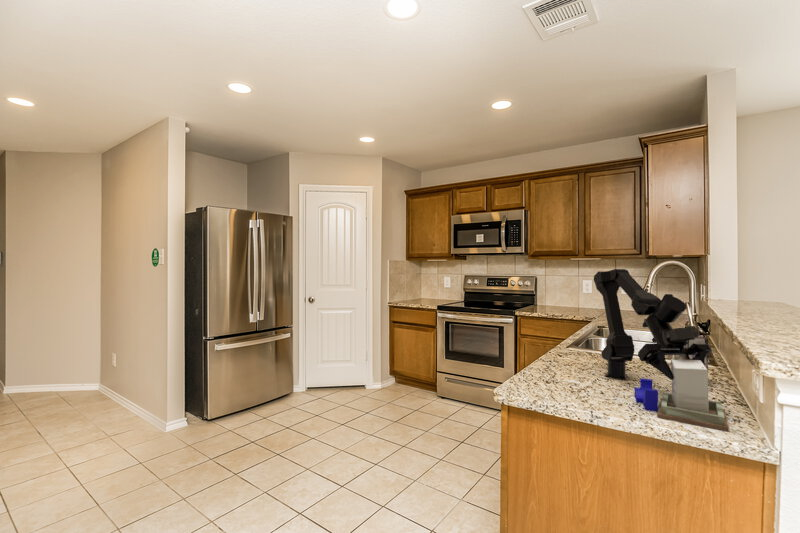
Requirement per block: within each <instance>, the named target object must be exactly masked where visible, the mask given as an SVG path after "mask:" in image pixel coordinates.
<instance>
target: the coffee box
mask: <svg viewBox="0 0 800 533" xmlns="http://www.w3.org/2000/svg"><path fill="white" fill-rule="evenodd" d="M709 340H710V338H708V337H705V336H703V335H699V336H698V337H695V339H694V340H689V341H687V344H686V345H684V346H683V347H684V348H689V347H690V346H691V345H692V344H693V343H705V344H708V345H709V344H710V342H709ZM709 346H710V345H709ZM675 359H678V360H688V359H687V358H686V356H685V355H675ZM705 367H706V369H707V370H708V371H709V354H708V355H707V356H706V357H705Z"/></svg>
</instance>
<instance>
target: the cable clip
mask: <svg viewBox="0 0 800 533" xmlns="http://www.w3.org/2000/svg"><path fill="white" fill-rule="evenodd" d="M639 379H640V380H639V381H640V382H639V387H636V386H634V399H635V401H636V403H638V404H642V405H643V408H644V410H645V411H650V412H655V411H656V412H657V413H658V408H659V404H658V403H659V391H658V389H653V380H652V379H649V378H643V377H642V378H639ZM656 412H655V413H656Z"/></svg>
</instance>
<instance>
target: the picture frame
mask: <svg viewBox="0 0 800 533" xmlns="http://www.w3.org/2000/svg"><path fill="white" fill-rule="evenodd" d="M658 403H659V404H658V412H657V414H656V418H659V419H664V420H669V421H673V422H677V423H678V422H679V423H683V424H688V425H694V426H699V427H703V428H709V429H712V430H713V429H714V430H717V431H719V430H720V431H723V432H729V430H730V427H729V423H728V417H727V414H726V410H725V408H724V407H723V405H722V404H723V403H722V402H721V401H714V400H709V414H708V413H703V412H697V411H692V410H687V409H681V408H676V407H675V405H674V402H673V400H672V393H667V392H663V395H662V398H661V397H660V399H659V402H658Z"/></svg>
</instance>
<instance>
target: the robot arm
mask: <svg viewBox="0 0 800 533" xmlns="http://www.w3.org/2000/svg"><path fill="white" fill-rule="evenodd" d="M593 282H594V285H595V288H596V290H597V291H598V292H599V293H600V295H601V296H602V300H603V305H604V311H605V315H606V321H607V322H606V323H607V327H608V335H607V337H606V341H605V343H606V346H605V347H604V348H603V350H602V351H601V358H602V359H603V360H606V361H607V372H606V374H605V375H604V376H605V377H606V378H611V379H612V378H613V379H618V380H627V378H628V374H626V371H627V370H626V366H627V365H626V364H627V362H632V360H633V358H634V353H635V344H634V340H633V337H632V335H631V334H630V335H628V334H627V333H626V331H625V327H624V323H623V318H622V317H623V316H622V312H621V311H622V310H621V306H620V302H619V296H618V293H619V289H620V288H621V289H622V291H624V293H625V294H626V295H627V296H628V298H629V299H630V300H631V304H630V305H631V307H632V309H633V310H634V313H636V315H637V316H647V317H646V318H644V320H643V323H642V325H641V326H642V327H643V328H648V329H649V331H650V333H651V335H652V337H653V338H652V339H651V341H652V343H644V345H643V346H642V347H641V348H640V349H639V351H637V352H638V353H637V355H638V359H639V361H640V362H645V364H647V365H648V364H649V365H650V366H652V367H653V368H655V369H656V370H658V372H660V373H661V374H663V375H664V376H666V377H667V378H668V379H669V380H671V381H672V380H673V379H674V376H673V373H672V371H671V367H670V366H669V364H668V362H667V360H666V356H676V355H685V356H686V358H687V359H688V360H701V362H702V363H703V364H704V366H705V357H706V356H707V355H708V356H709V354H711V353H712V352H713V350H712V348H711V347H710V345H708V344H705V343H693V344H692V345H691V346H690V347H689V348H684V347H683V346H684V345H686V344H687V341H689V340H694V339H695V337H698V336H700V333H699V330H698V329H697V328H696V326H695V325H689V326H685V327H677V328H676V327H675V328H673V327H672V325H671V323H674V322H676V321H677V320H678V318H679V317H681V316H682V314H683V313H684V312H685V311H686V310H687V305H686V303H685V302H684V301H682V299H680V298H678V297H675V296H674V295H673V294H672V293H665V294H664V295H663V296H662V299H660V298H659V297H658V296H656V295H655V294H653V293H651V292H649V291H646V290H645V289H644V288H643V287H642V286H641V285H640V284H639V283H638V282H637V280H635V278H634V277H632V275H631V274H630V272H629V270H627V269H626V268H612V269H610V270H607V271H604V270H603V271H601V270H600V271H597V272H596V274H594V275H593Z"/></svg>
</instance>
